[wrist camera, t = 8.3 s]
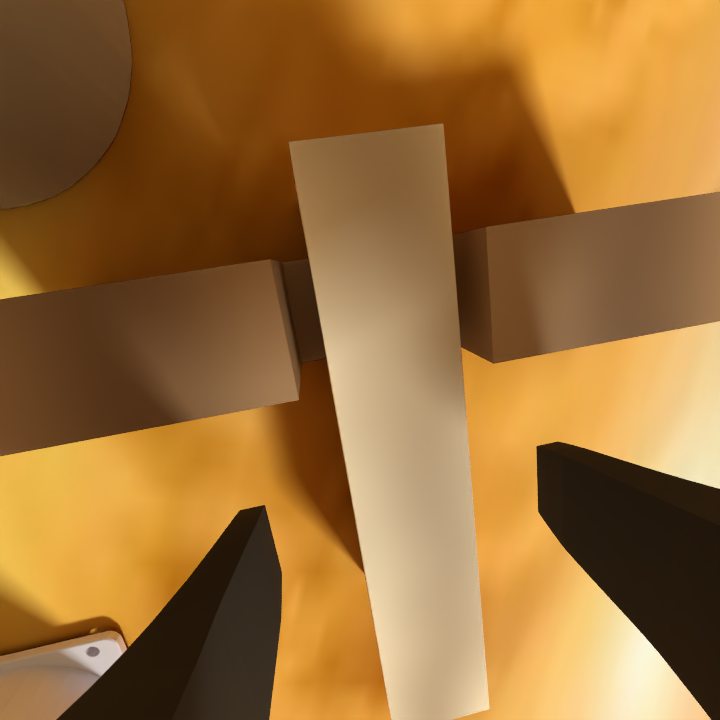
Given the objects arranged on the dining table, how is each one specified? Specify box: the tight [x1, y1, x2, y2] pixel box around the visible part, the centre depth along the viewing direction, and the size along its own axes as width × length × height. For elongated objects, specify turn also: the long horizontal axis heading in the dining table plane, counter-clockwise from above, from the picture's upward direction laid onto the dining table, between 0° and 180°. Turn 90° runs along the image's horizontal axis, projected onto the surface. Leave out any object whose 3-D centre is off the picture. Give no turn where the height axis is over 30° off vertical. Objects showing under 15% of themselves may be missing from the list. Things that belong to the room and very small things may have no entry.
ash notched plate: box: [289, 123, 489, 720], centre depth 12 cm, size 3×16×6 cm, turn 9°
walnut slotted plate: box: [0, 192, 720, 456], centre depth 11 cm, size 18×3×6 cm, turn 99°
